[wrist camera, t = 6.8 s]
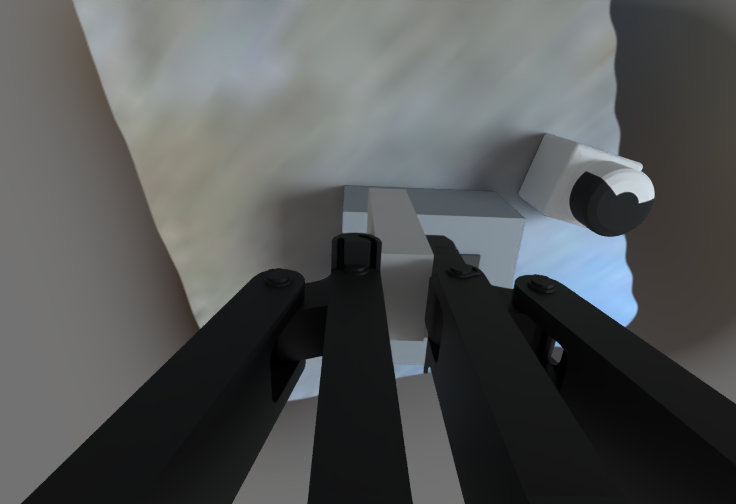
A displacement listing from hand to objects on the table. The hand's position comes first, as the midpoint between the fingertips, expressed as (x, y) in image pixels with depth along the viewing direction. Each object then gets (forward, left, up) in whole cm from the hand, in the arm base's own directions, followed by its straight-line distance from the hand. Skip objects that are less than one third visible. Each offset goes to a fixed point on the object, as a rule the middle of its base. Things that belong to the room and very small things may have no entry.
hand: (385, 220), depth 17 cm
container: (+5, +23, -33) cm, 40 cm away
